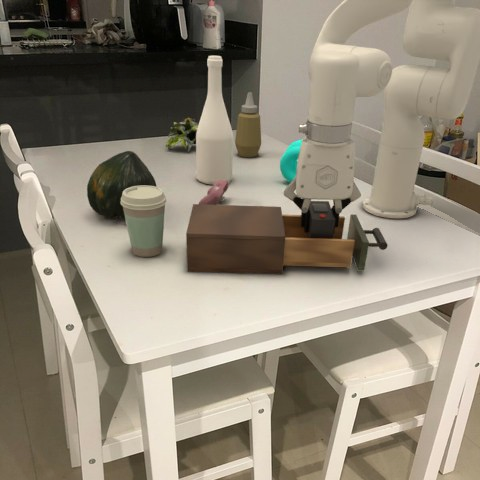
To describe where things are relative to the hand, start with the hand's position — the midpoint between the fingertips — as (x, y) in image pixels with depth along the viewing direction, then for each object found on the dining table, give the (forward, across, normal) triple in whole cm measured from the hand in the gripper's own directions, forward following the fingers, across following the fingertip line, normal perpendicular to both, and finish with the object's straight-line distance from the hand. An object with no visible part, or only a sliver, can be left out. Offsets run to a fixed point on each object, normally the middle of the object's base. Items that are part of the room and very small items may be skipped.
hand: (318, 229), depth 102 cm
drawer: (+5, +2, -1) cm, 5 cm away
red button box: (+1, 0, 0) cm, 1 cm away
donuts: (+7, +1, +47) cm, 48 cm away
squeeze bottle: (+7, -13, +70) cm, 72 cm away
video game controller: (+6, -21, +27) cm, 35 cm away
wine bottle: (+7, -22, +45) cm, 51 cm away
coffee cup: (+6, -33, 0) cm, 34 cm away
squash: (+6, -41, +19) cm, 46 cm away
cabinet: (+6, -16, -1) cm, 17 cm away
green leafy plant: (+7, -32, +74) cm, 81 cm away
